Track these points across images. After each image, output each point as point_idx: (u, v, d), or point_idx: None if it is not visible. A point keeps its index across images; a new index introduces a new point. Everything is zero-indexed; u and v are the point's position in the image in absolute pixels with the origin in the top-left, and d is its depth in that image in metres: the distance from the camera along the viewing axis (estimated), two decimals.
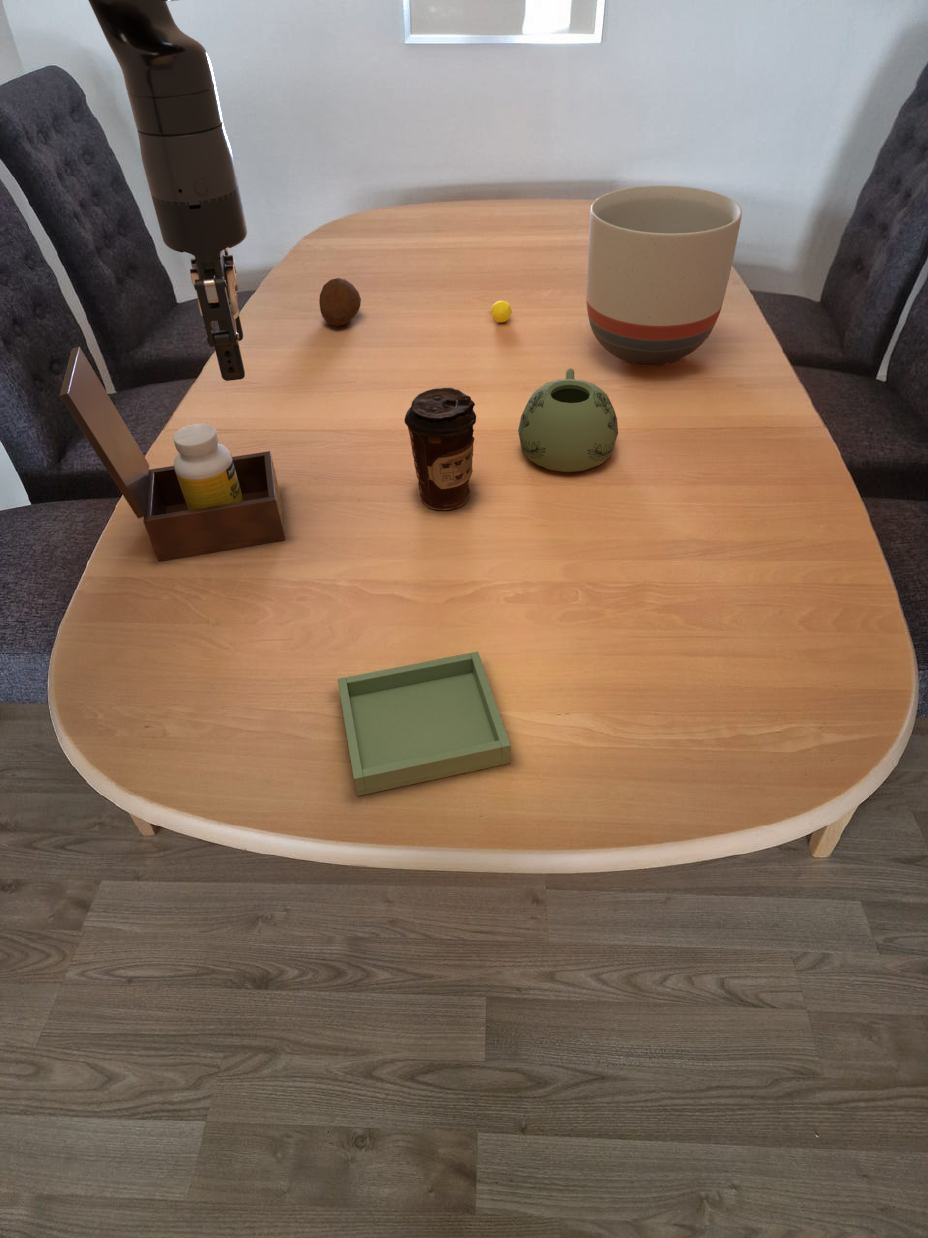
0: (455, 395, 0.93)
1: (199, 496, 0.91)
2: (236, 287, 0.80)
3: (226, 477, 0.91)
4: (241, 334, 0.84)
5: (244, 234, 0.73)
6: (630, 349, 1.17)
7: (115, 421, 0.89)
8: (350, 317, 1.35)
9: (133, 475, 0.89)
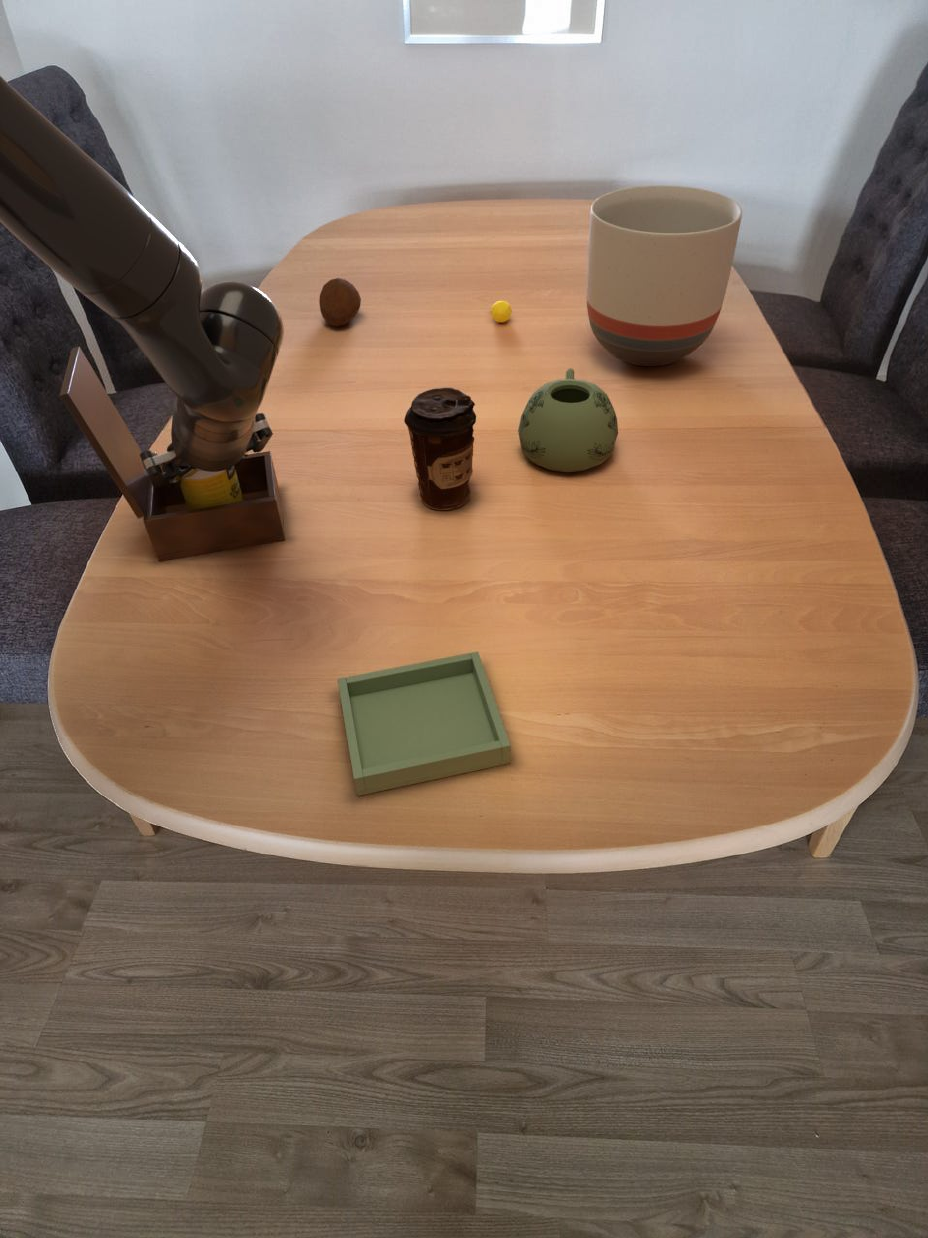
0: (455, 395, 0.93)
1: (199, 496, 0.91)
2: None
3: (226, 477, 0.91)
4: None
5: (212, 471, 0.82)
6: (630, 349, 1.16)
7: (115, 421, 0.89)
8: (350, 317, 1.35)
9: (133, 475, 0.89)
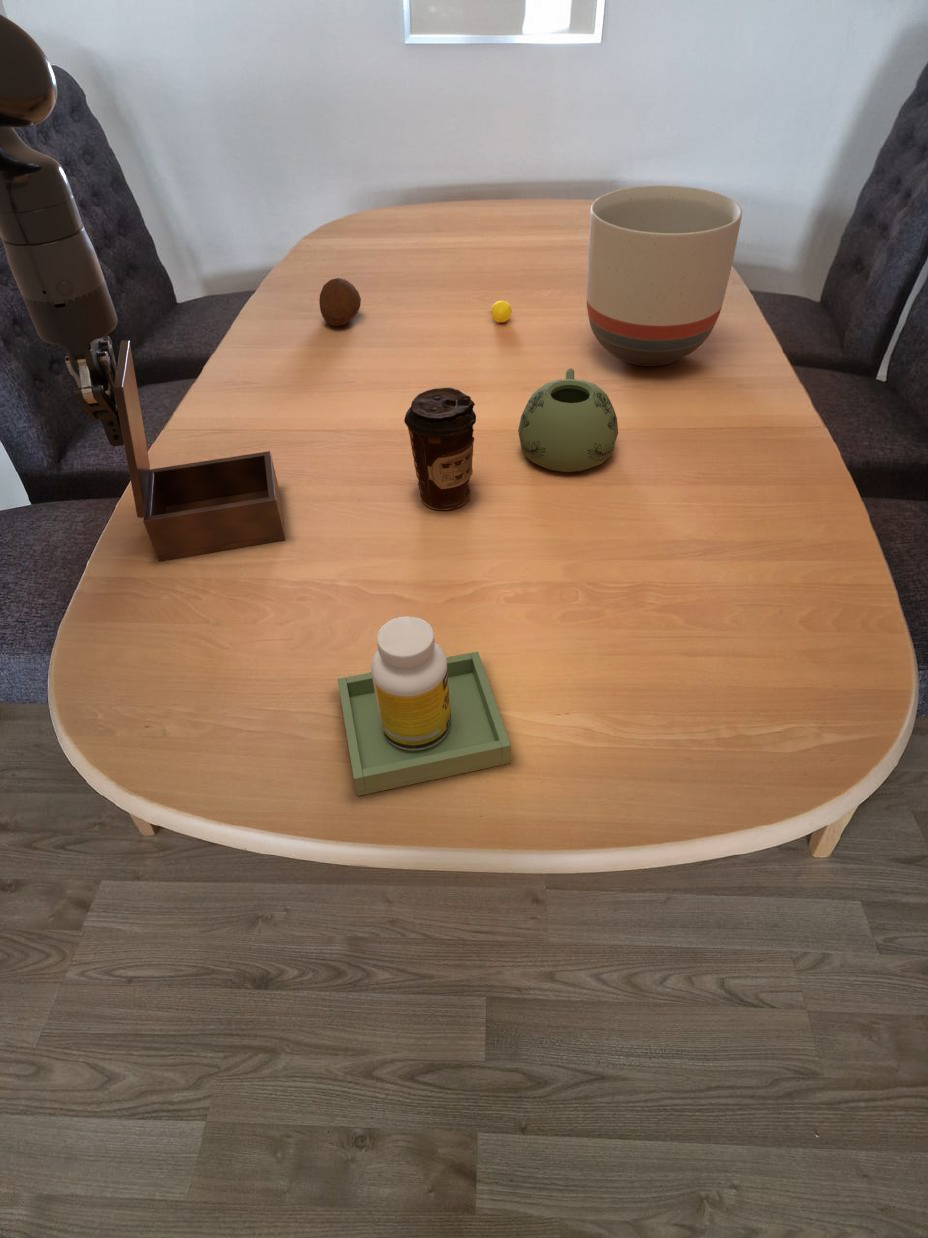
0: (455, 395, 0.93)
1: (405, 714, 0.68)
2: None
3: (442, 688, 0.68)
4: None
5: (113, 324, 0.78)
6: (630, 349, 1.16)
7: (139, 419, 0.89)
8: (350, 317, 1.35)
9: (143, 475, 0.89)
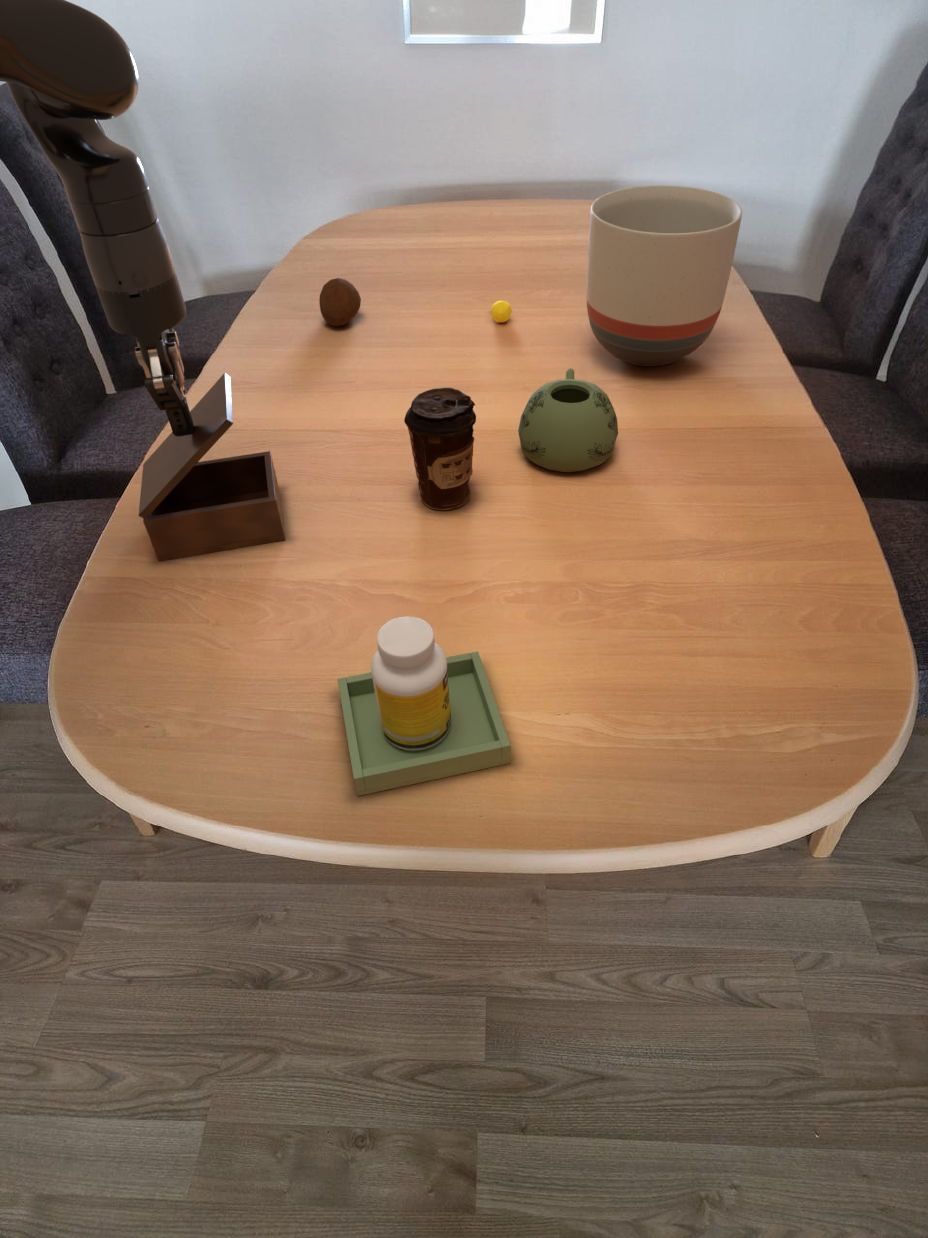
0: (455, 395, 0.93)
1: (405, 714, 0.68)
2: (181, 371, 0.85)
3: (442, 688, 0.68)
4: None
5: (183, 315, 0.79)
6: (630, 349, 1.16)
7: None
8: (350, 317, 1.35)
9: None
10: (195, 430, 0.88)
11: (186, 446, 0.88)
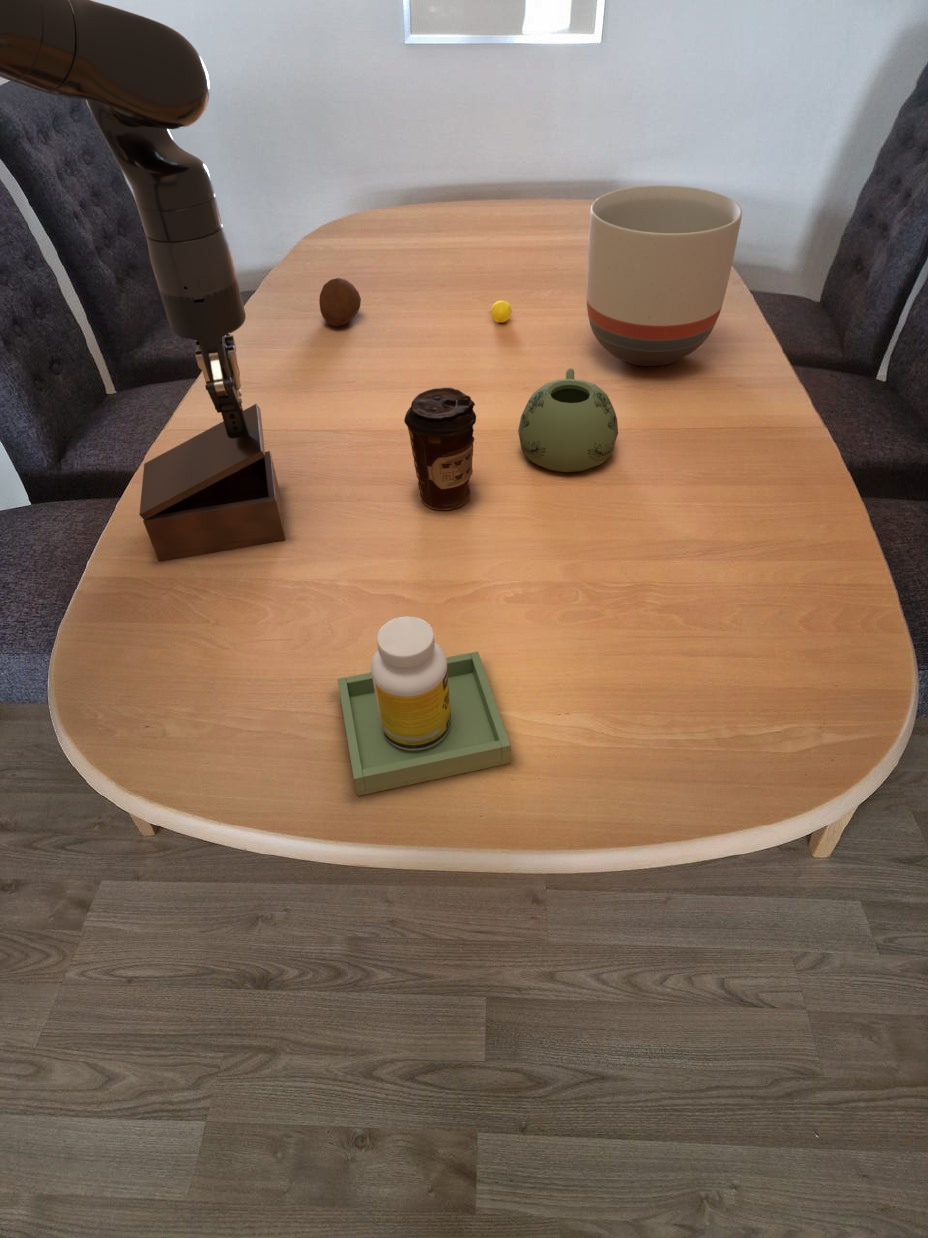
0: (455, 395, 0.93)
1: (405, 714, 0.68)
2: (238, 374, 0.86)
3: (442, 688, 0.68)
4: None
5: (243, 319, 0.81)
6: (630, 349, 1.16)
7: None
8: (350, 317, 1.35)
9: None
10: (218, 449, 0.90)
11: (206, 463, 0.90)
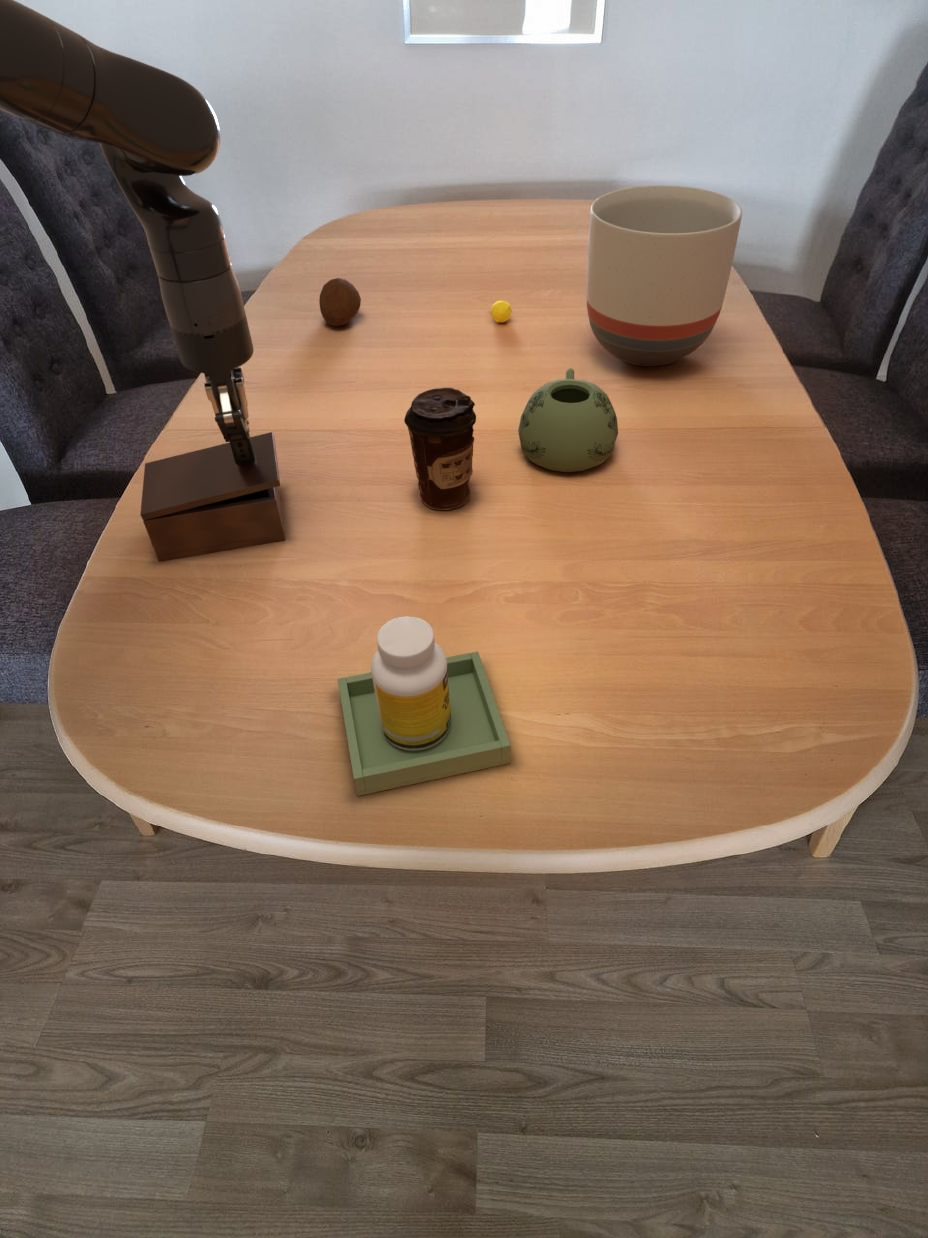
0: (455, 395, 0.93)
1: (405, 714, 0.68)
2: (245, 404, 0.89)
3: (442, 688, 0.68)
4: None
5: (251, 353, 0.83)
6: (630, 349, 1.16)
7: None
8: (350, 317, 1.35)
9: None
10: (230, 468, 0.92)
11: (217, 478, 0.91)
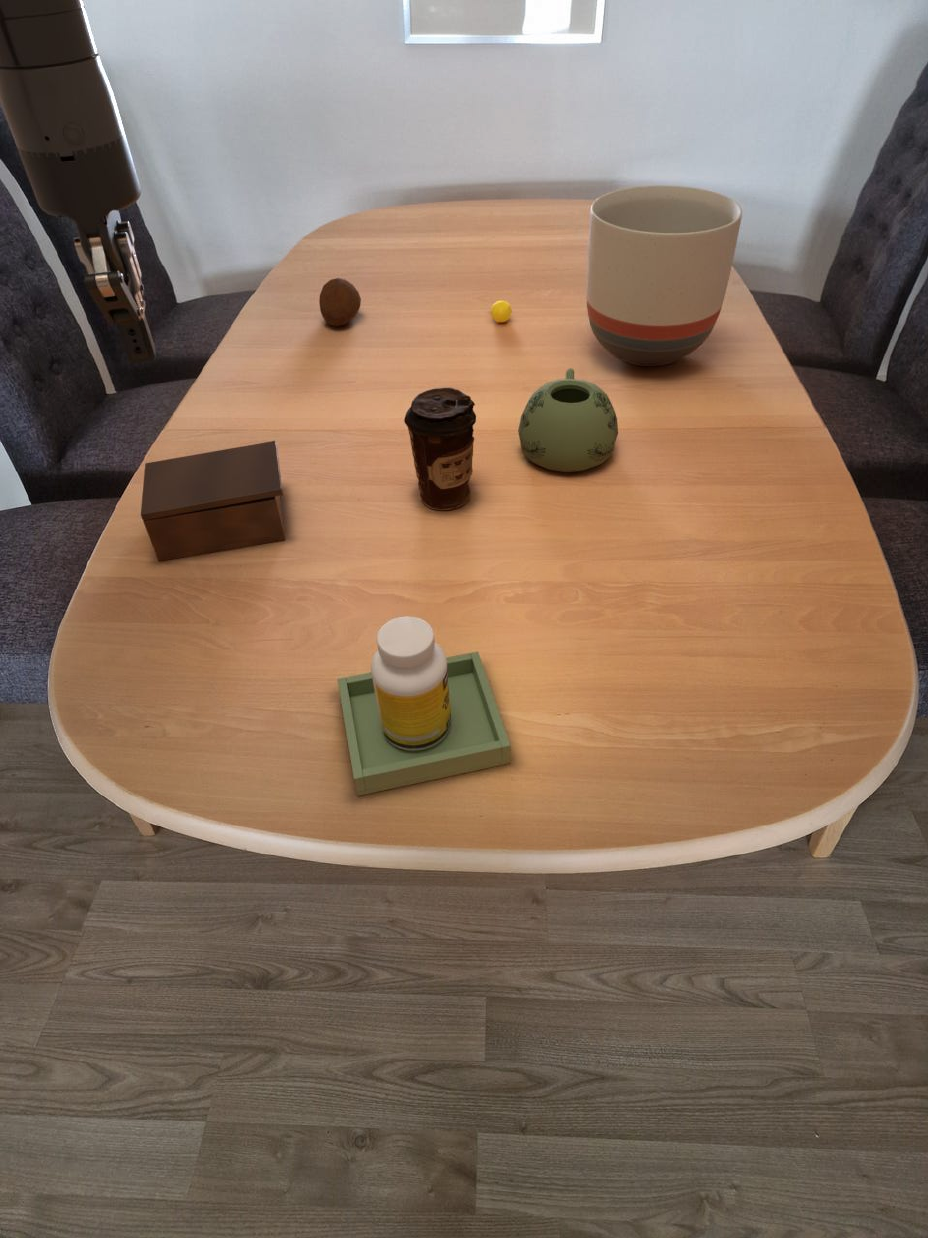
0: (455, 395, 0.93)
1: (405, 714, 0.68)
2: (137, 275, 0.66)
3: (442, 688, 0.68)
4: None
5: (136, 194, 0.61)
6: (630, 349, 1.16)
7: None
8: (350, 317, 1.35)
9: None
10: (232, 474, 0.93)
11: (219, 483, 0.92)
